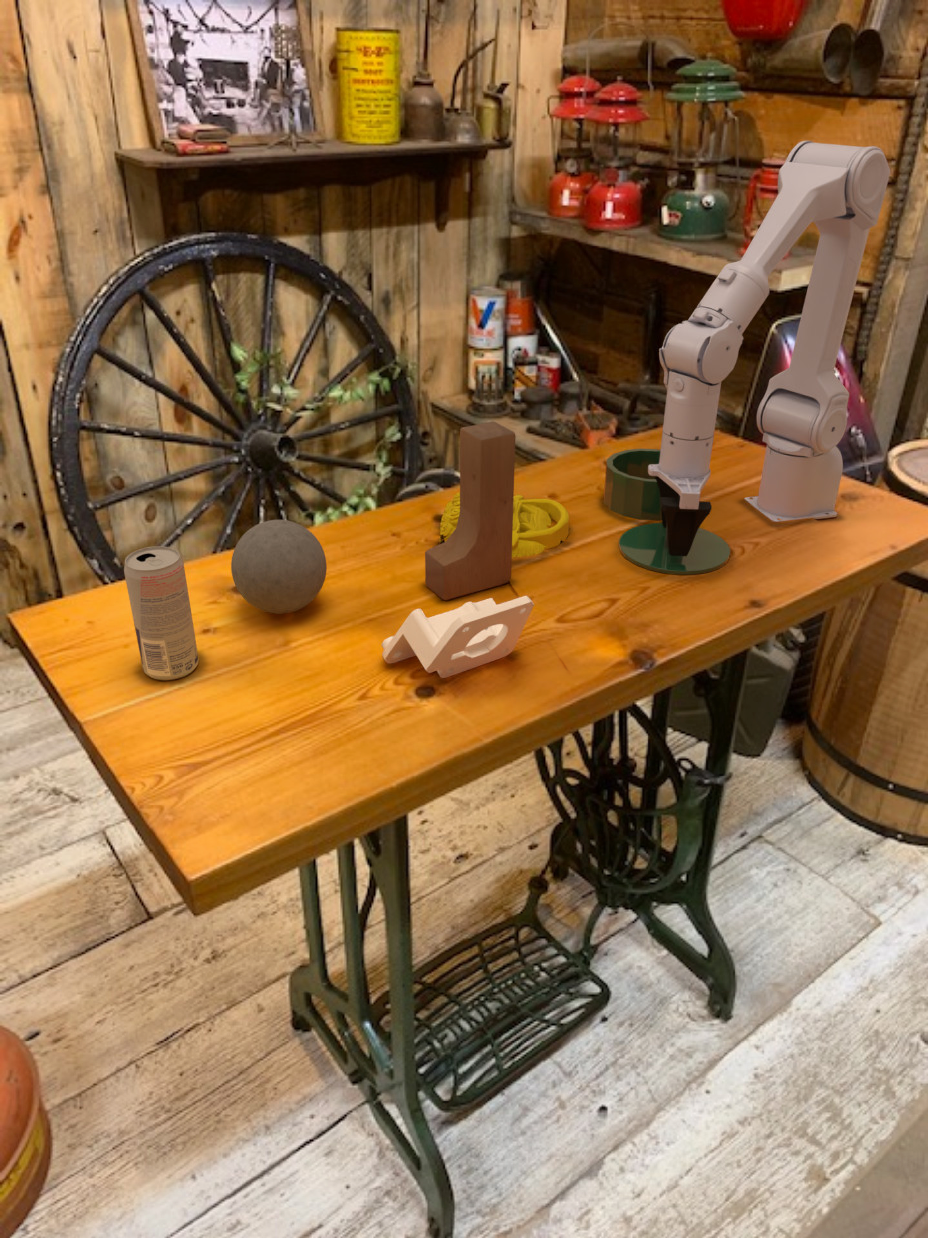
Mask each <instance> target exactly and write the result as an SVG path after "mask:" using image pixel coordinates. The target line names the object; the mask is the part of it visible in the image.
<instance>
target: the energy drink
mask: <svg viewBox="0 0 928 1238" xmlns="http://www.w3.org/2000/svg"><path fill="white" fill-rule="evenodd" d="M123 573H124V578H125V583H126V589H127V594H128V599H129V605H130V610H131V615H132V619H133V624H134V630H135V636H136V641H137V646H138V651H139V657H140V661H141V667H142V671H143V672H144V674H145V675H147V676H148V677H150V678H151V679H154V680H157V681H173V680H178V679H182V678H184V677H186V676H188V675H190V674H191V673H192V672H193V671H194V670H196V668H197V667H198V665H199V661H200V659H199V658H200V657H199V653H198V652H199V651H198V646H197V639H196V633H195V627H194V620H193V614H192V608H191V601H190V595H189V588H188V583H187V576H186V569H185V562H184V560H183V558H182V557H181V554H180V552H179V551H178V550H177V549H176V548H172V547H169V546H162V545H161V546H160V545H158V546H157V545H156V546H148V547H144V548H140V549H137V550H135V551H133V552H131V553H129V554H128V555H127V556H126V557H125V559H124V567H123Z"/></svg>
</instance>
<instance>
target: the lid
mask: <svg viewBox="0 0 928 1238" xmlns="http://www.w3.org/2000/svg"><path fill="white" fill-rule="evenodd" d="M618 551H619V552H620V555H622V556H623V557H624V558H625V559H626V560H627V561H629V562H630V563H632V564H634V565H636V566H638V567H641V568H643V569H645V570H649V571H652V572H656V573H661V574H667V575H678V576H679V575H680V576H691V575H692V576H693V575H700V574H707V573H710V572H714V571H716V570H718V569H720V568H722V567H723V566H725V565H726V564H727V563H728V561H729V560H730V558H731V557H730V556H731V548H730V546H729V544H728V543H727V542H726V541H725V540H724V539H723V538H722V537H721V536H719V535H718V534H716V533H714V532H711V531H710V530H706V529H704V528H701V527H699V529H698V531H697V533H696V536H695V538H694V541H693V543H692V546H691V549H690V551H689V553H688V555H687V556H670V555H669V550H668V541H667V524H666V528H663V524H662V522H654V523H646V524H641V525H637V526H634V527H632V528H629V529H628V530H626V531H624V533H622V535H620V537H619V540H618Z"/></svg>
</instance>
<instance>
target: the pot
mask: <svg viewBox="0 0 928 1238" xmlns="http://www.w3.org/2000/svg"><path fill="white" fill-rule="evenodd" d="M660 451H661V448H660V449H658V448H632V449H631V448H630V449H625V450H622V451H618V452H615V453H613V454H611V455H610V456H608V458H607V459H606V467H605V477H604V478H605V479H604V489H603V491H604V492H603V505H605V506H606V507H607V508H608V509H609V510H610V511H611V512H614V513H615V514H618V515H620V516H622V517H626V518H630V519H635V520H641V521H654V522H657V521H658V522H660V521H661V522H662V517H661V503H660V492H659V487H658V484H657V481H656V478H655V476H651V475H649V473H648V466H649V465H650V464H659V460H660Z"/></svg>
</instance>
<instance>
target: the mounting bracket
mask: <svg viewBox="0 0 928 1238" xmlns="http://www.w3.org/2000/svg"><path fill="white" fill-rule="evenodd" d="M534 606H535V603H534V601H532V599H531V597H529V596H528V595H523V596H520V597H517V598H514V599H511V600H508V601H504V602H500V603H498V604H497V602H495V600H494V598H493V597H489V598H486V599H483V600H480V601H475V602H472V601H467V602H465V603H464V604H463V605H461V606H460V607H457V608H454V609H451V610H448V611H444V612H442V613H439V614H435V615H433V616H429V617H427V616H426V615H425V613H424V611H423V610H422V609H421V608H416V609H414V610H412V611H411V612H410V613H409V615H408V616H407V617H406V619H405V620H404V622H403V623H402V625H401V626H400V627H399V628H398V630H397V631H396V633H395V634H394V635H391V636H389V637H387V638H385V639H384V640H383V641H382V643H381V647H382V649H383V651H382V653H381V657H382V658H383V660H384V661H385V663H386V664H396V663H398V662H401V661H403V660H406V659H411V658H413V657H417V659H418V660H419V662H420V664H421V666H422V667H423V668H424V670H425V671H426V672H427V673H428V674H430V673H433V672H437V674H438V675H439V677H440V678H441V679H446V678H450V677H451V676H454V675H458V674H461V673H463V672H466V671H468V670H471V669H474V668H477V667H480V666H482V665H486V664H488V663H491V662H494V661H497V660H499V659H503V658H505V657H508V655H510V654H511V653H512V652H513V651H514V650H515V648H516V646H517V643H518V641H519V639H520V637H521V634H522V632H523V630H524V628H525V626H526V623H527V621H528V619H529V617H530V615H531V613H532V610H533V608H534Z"/></svg>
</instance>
